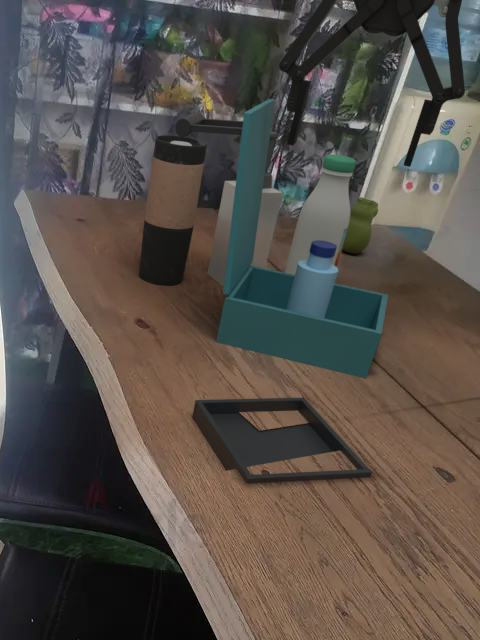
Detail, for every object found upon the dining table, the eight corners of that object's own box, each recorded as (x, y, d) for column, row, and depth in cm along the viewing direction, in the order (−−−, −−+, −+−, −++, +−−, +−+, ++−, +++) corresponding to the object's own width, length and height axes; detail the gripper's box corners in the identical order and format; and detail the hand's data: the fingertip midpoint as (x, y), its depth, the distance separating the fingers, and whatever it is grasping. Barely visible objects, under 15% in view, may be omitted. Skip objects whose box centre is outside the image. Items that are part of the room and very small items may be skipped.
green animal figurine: (330, 250, 140) (346, 194, 134) (346, 246, 143) (362, 192, 137) (355, 259, 137) (372, 202, 131) (370, 255, 140) (388, 200, 134)
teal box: (372, 340, 105) (388, 294, 101) (364, 384, 93) (381, 333, 89) (239, 310, 110) (249, 264, 106) (214, 347, 98) (225, 297, 94)
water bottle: (324, 344, 100) (353, 250, 92) (293, 348, 98) (320, 251, 90) (301, 329, 104) (327, 237, 96) (271, 332, 102) (295, 238, 94)
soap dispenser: (234, 268, 125) (265, 125, 112) (260, 287, 119) (296, 137, 106) (200, 269, 123) (227, 123, 110) (225, 288, 117) (257, 135, 104)
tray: (365, 489, 73) (372, 472, 72) (243, 496, 70) (248, 478, 69) (299, 413, 85) (304, 397, 84) (191, 416, 82) (195, 399, 80)
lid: (274, 99, 94) (199, 94, 96) (251, 113, 82) (166, 107, 84) (252, 261, 105) (186, 253, 108) (228, 294, 93) (155, 284, 96)
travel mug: (130, 279, 116) (148, 139, 104) (145, 265, 122) (164, 132, 110) (176, 289, 114) (200, 149, 102) (189, 275, 120) (213, 141, 108)
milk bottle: (319, 303, 116) (358, 166, 104) (273, 289, 119) (307, 154, 107) (334, 291, 121) (373, 159, 109) (290, 278, 124) (324, 149, 112)
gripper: (285, -91, 74) (239, 139, 87) (549, -63, 69) (458, 179, 81) (296, -85, 80) (251, 131, 93) (540, -58, 74) (457, 167, 87)
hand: (348, 154), depth 87 cm, fingers open, 13 cm apart
